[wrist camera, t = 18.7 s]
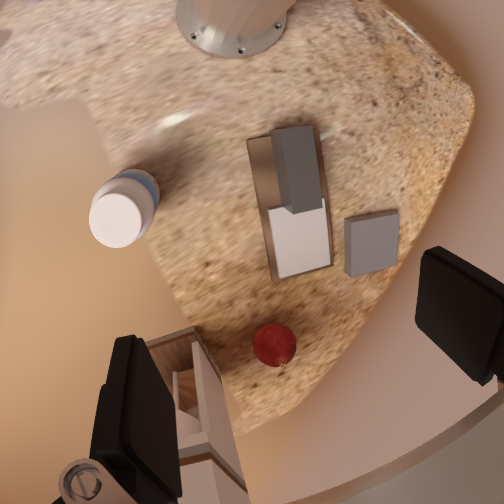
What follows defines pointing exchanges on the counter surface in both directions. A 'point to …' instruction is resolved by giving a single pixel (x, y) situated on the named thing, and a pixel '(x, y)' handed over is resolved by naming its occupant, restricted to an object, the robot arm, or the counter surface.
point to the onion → (274, 345)
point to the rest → (278, 194)
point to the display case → (200, 421)
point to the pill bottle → (124, 208)
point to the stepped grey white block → (298, 203)
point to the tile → (371, 242)
